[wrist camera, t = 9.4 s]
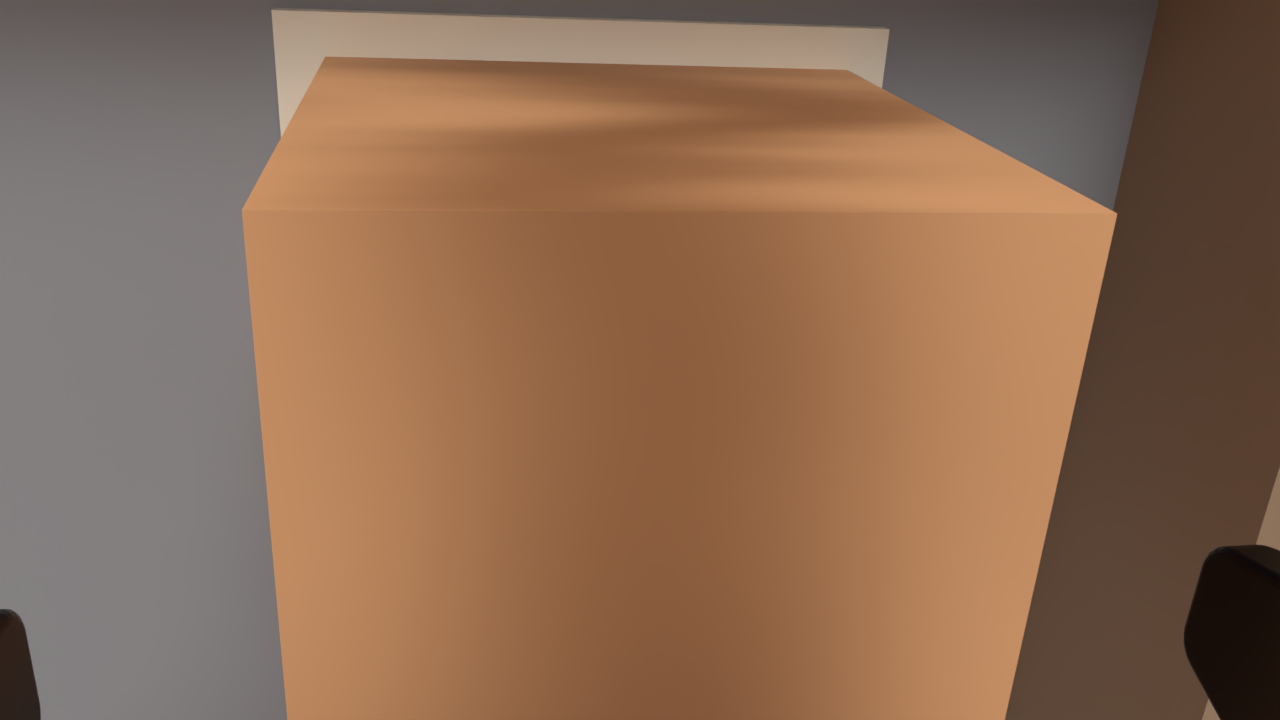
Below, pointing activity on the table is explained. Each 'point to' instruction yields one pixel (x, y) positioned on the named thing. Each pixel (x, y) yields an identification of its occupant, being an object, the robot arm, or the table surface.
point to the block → (656, 393)
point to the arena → (606, 34)
